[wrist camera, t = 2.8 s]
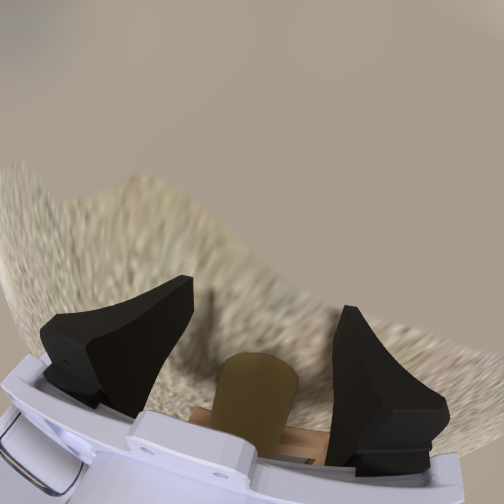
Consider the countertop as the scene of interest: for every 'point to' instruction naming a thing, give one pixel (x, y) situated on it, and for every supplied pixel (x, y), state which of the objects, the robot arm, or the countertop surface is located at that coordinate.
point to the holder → (286, 441)
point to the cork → (254, 400)
